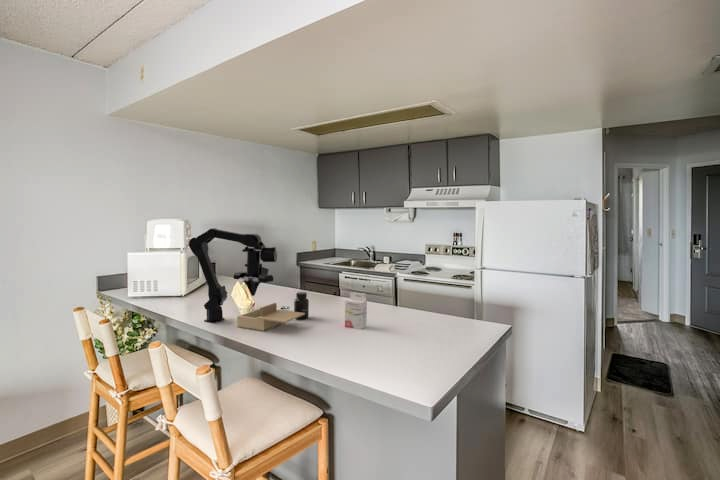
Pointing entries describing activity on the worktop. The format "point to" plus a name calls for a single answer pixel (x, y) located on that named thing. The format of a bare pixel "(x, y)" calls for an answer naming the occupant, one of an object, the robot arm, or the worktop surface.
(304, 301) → the supplement bottle
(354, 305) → the ink cartridge box
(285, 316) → the lid
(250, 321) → the mailer box
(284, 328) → the worktop surface
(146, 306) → the worktop surface
